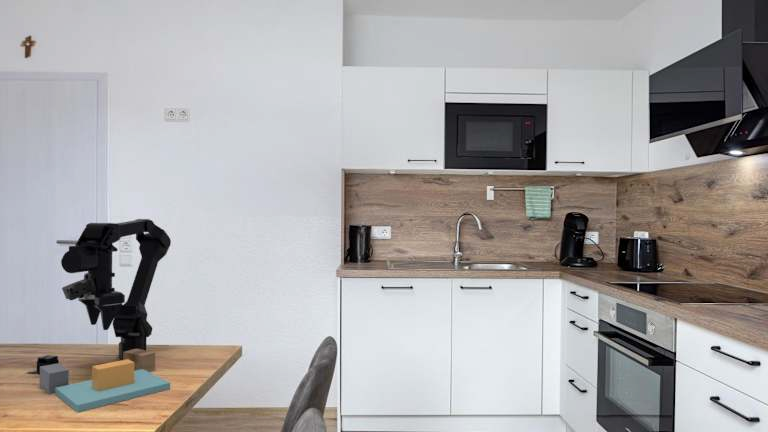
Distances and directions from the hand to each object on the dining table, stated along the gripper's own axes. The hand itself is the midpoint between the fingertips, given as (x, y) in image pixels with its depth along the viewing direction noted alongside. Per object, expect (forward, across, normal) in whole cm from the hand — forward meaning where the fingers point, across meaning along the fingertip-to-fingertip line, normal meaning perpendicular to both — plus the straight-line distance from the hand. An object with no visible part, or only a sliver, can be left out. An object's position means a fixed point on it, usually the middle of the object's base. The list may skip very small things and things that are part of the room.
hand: (99, 327), depth 133 cm
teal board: (+12, +19, -3) cm, 23 cm away
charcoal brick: (+12, +6, -12) cm, 18 cm away
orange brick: (+10, +19, -3) cm, 22 cm away
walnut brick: (+12, +6, +8) cm, 16 cm away
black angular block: (+13, -10, -9) cm, 19 cm away
